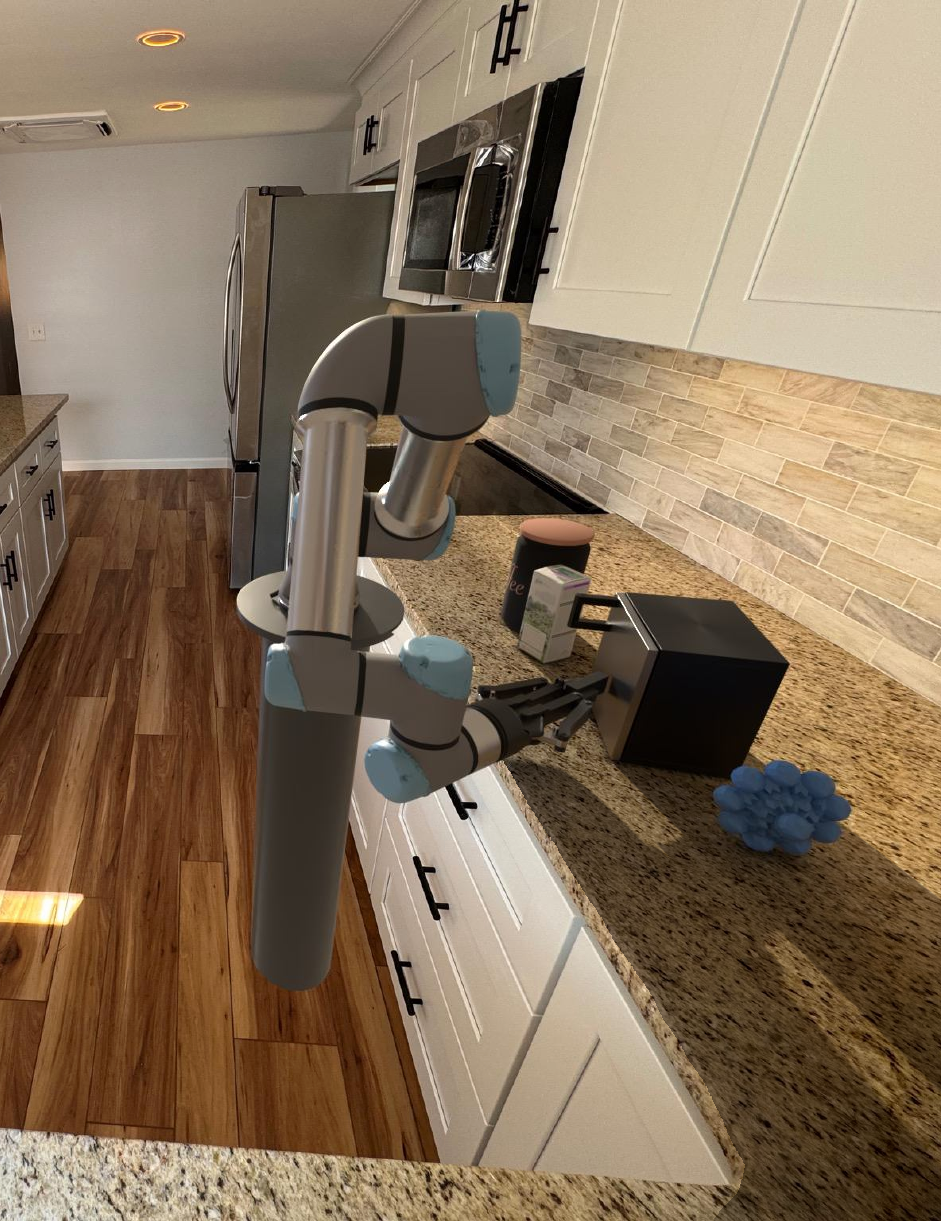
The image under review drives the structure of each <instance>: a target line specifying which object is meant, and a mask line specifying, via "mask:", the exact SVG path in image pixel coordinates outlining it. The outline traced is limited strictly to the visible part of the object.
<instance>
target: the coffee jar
mask: <svg viewBox="0 0 941 1221" xmlns="http://www.w3.org/2000/svg"><path fill="white" fill-rule="evenodd" d="M519 533H520V535H519V536H517V538H516V542H515V547H514V549H513V550H514V551H513V556H512V559H511V564H510V570H509V573H508V578H507V582H506V587H505V591H504V596H503V600H502V605H501V608H500V609H501V610H500V617H501V619H502V620H503V623H504V624H505V626H506V627H508V628H509V629H511V630H512V631H514V632H517V633H519V634H520V630H521V626H522V622H523V618H524V613H525V609H526V605H527V600H528V596H529V592H530V587H531V583H532V578H533V574H534V570H538V569H541V568H545V567H549V566H554V565H563V566H566V567H568V568H570V569H573V570H575V571H577V572H579V573H582V574H584V575H585V572H586V569H587V565H588V563H589V562H588V561H589V558H590V555H591V550H592V549H591V544H590V543H591V542H592V541H593V540H594V538H595V535H596V534H595V531H594V530H593V529H592V528H591V527H589V526H587V525H585V524H583V523H580V522H576V521H574V520H573V521H572V520H567V519H563V518H551V517H549V518H548V517H544V518H543V517H542V518H541V517H539V518H530V519H527V520H524V521H523V522H521V523H520V524H519Z"/></svg>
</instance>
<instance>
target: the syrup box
mask: <svg viewBox="0 0 941 1221" xmlns="http://www.w3.org/2000/svg"><path fill="white" fill-rule="evenodd" d="M591 583H592V577H591V576H588V575H586V574H585V573H584V574H582V573H579V572H577V571H575V570H573V569H570V568H568V567H566V566H563V565H554V566H549V567H545V568H541V569H538V570H534V574H533V578H532V583H531V587H530V592H529V596H528V600H527V605H526V609H525V613H524V618H523V622H522V626H521V630H520V633H519V635H518V640H517V644H516V648H517V649H519V650H521V651H522V652H524V653H525V654H527V655H529V656H531V657H532V658H533V659H535V660H537V661H539V662H540V663H543V664H546V663H551V662H556V661H559V660H564V659H567V658H570V657H571V655H572V651H573V648H574V644H575V639H576V636H577V632H578V629H576V628H569V627H568V626H567V623H568V619H569V616H570V612H571V609H572V605H573V601H574V598H575V594H576V593H583V594H589V589H590V586H591ZM584 607H585V605H583V607H582V611H581V614H580V618H582V614H583V611H584Z"/></svg>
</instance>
